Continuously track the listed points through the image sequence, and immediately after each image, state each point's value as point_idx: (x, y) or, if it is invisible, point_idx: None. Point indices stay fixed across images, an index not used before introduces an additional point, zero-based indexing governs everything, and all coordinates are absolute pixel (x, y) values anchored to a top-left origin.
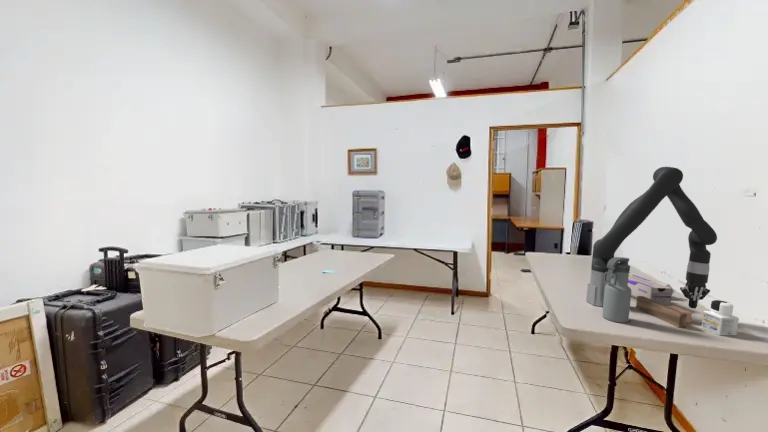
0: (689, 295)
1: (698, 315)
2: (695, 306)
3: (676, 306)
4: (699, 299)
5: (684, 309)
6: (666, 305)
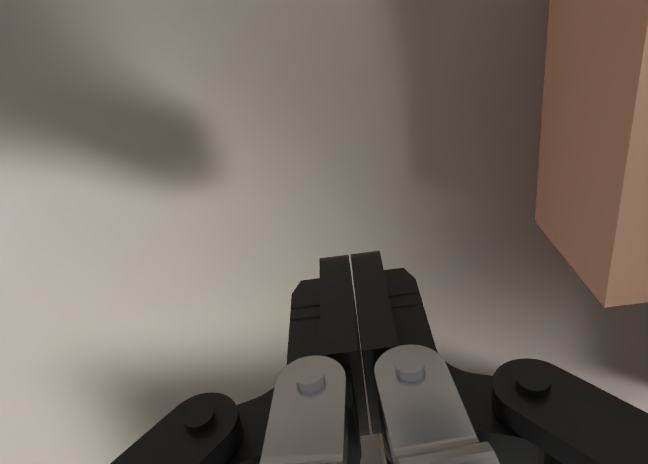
0: (633, 445)
1: (175, 299)
2: (338, 273)
3: (621, 288)
4: (245, 407)
5: (632, 147)
6: None
